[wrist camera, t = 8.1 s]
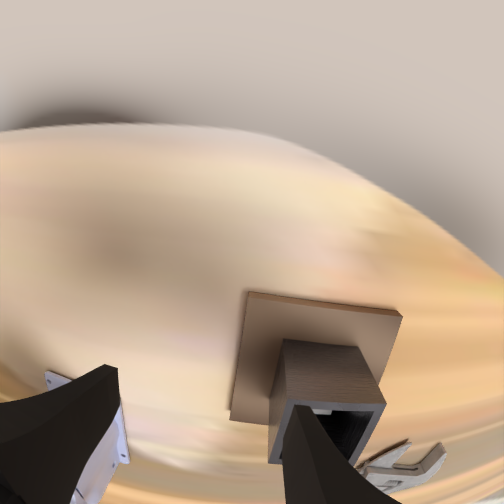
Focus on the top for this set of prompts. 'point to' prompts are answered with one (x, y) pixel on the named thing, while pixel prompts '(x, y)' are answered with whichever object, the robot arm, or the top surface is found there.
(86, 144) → the top surface
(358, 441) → the hollow square tube
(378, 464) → the adjustable wrench
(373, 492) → the robot arm
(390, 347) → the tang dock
